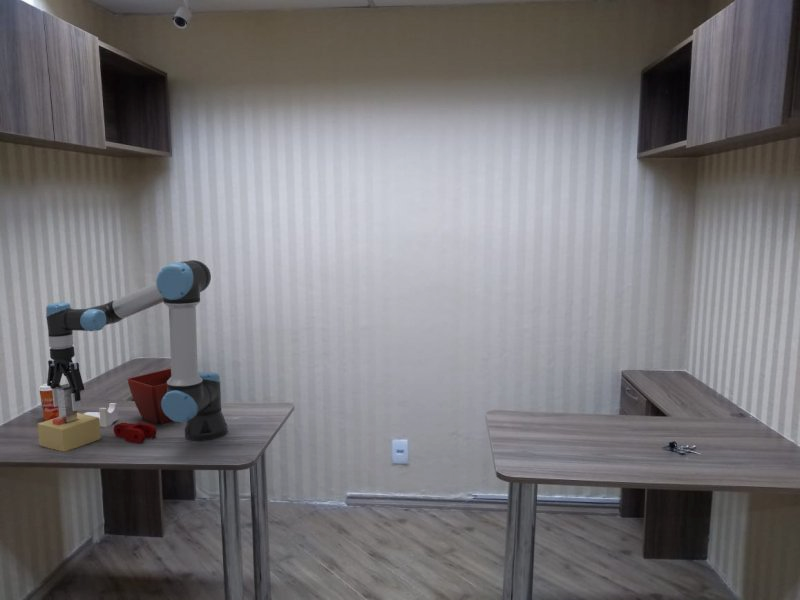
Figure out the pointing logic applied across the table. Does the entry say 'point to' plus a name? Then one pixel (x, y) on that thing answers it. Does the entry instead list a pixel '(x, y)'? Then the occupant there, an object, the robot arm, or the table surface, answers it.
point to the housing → (69, 432)
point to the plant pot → (150, 394)
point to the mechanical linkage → (135, 431)
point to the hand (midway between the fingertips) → (67, 407)
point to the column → (65, 404)
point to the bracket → (106, 415)
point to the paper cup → (48, 403)
